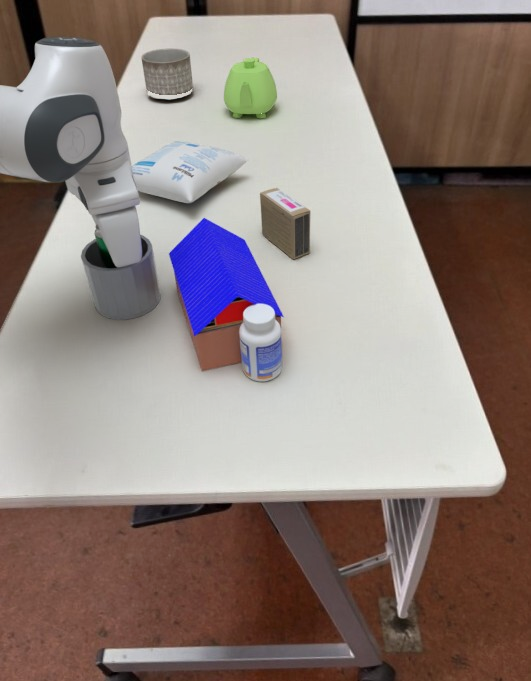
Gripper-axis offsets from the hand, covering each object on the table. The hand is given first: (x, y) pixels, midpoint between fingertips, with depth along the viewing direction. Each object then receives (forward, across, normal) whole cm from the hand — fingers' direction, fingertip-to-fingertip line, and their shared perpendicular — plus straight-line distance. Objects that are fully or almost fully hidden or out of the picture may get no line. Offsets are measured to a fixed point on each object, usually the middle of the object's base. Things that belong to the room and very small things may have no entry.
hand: (118, 259), depth 85 cm
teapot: (+8, -63, +49) cm, 80 cm away
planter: (+8, -85, +34) cm, 92 cm away
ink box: (+8, -3, +29) cm, 30 cm away
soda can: (+6, 0, 0) cm, 6 cm away
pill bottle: (+8, +23, +12) cm, 28 cm away
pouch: (+8, -31, +20) cm, 38 cm away
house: (+8, +11, +12) cm, 18 cm away
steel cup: (+8, 0, 0) cm, 8 cm away
